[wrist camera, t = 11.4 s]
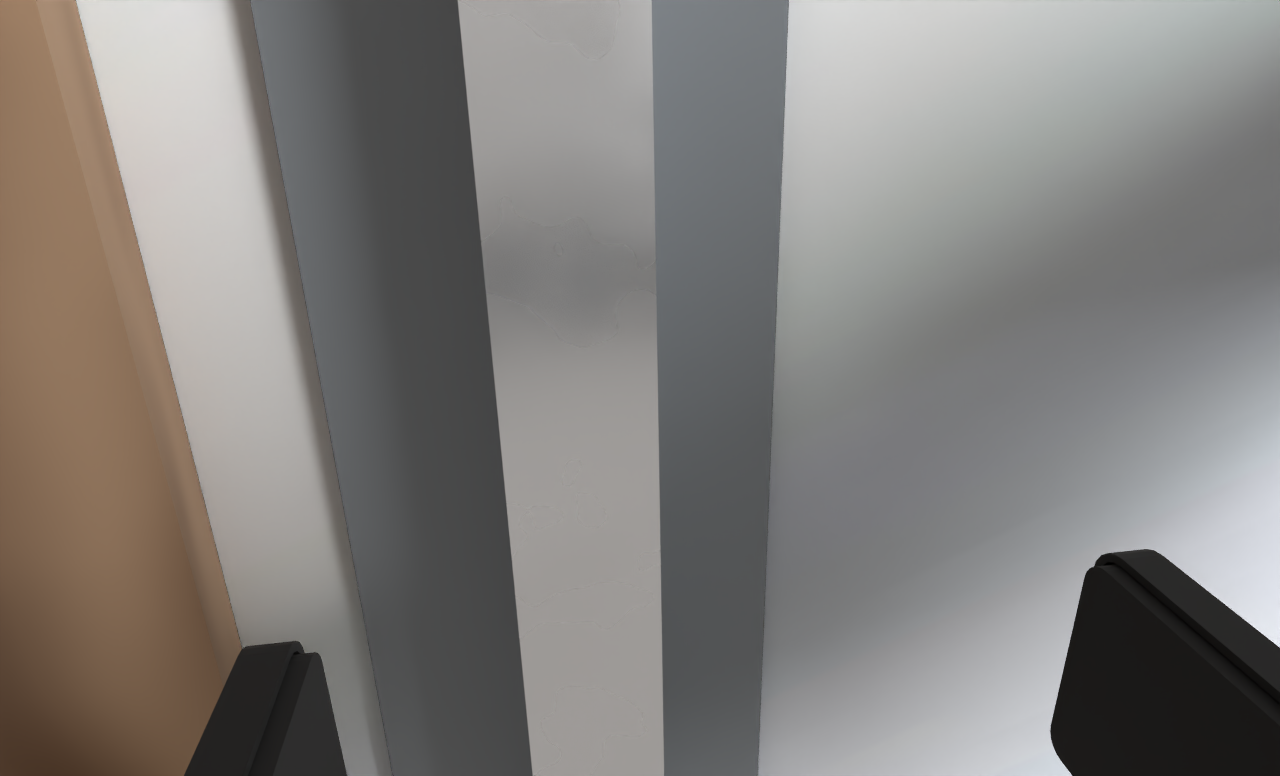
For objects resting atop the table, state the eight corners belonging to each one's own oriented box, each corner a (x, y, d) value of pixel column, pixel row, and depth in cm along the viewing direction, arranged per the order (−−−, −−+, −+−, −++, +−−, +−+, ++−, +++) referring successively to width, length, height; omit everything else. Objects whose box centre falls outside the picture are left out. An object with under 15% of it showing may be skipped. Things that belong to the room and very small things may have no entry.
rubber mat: (793, -349, 15) (803, -362, 14) (750, 809, 25) (755, 823, 25) (187, -385, 13) (176, -401, 12) (414, 871, 23) (413, 887, 23)
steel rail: (613, -227, 14) (646, -294, 12) (643, 794, 23) (665, 891, 21) (436, -233, 14) (428, -305, 11) (537, 812, 23) (546, 914, 20)
